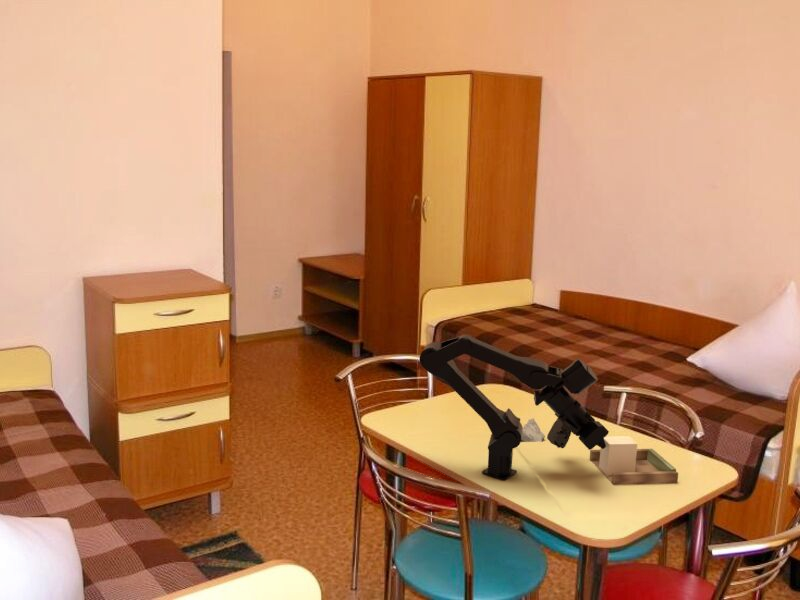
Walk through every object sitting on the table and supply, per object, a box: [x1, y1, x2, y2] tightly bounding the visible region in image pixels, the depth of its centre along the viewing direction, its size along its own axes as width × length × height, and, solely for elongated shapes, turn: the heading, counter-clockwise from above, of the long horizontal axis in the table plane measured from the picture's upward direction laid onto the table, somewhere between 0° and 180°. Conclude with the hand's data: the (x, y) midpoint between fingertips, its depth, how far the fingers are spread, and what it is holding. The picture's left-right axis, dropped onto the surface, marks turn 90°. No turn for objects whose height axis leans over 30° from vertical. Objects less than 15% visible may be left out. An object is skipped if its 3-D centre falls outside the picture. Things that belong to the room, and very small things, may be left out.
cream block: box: [599, 435, 638, 476], centre depth 191 cm, size 7×5×8 cm
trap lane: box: [589, 448, 679, 486], centre depth 192 cm, size 16×15×4 cm
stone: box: [521, 417, 546, 443], centre depth 216 cm, size 6×12×4 cm, turn 156°
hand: (604, 447), depth 189 cm, fingers closed
